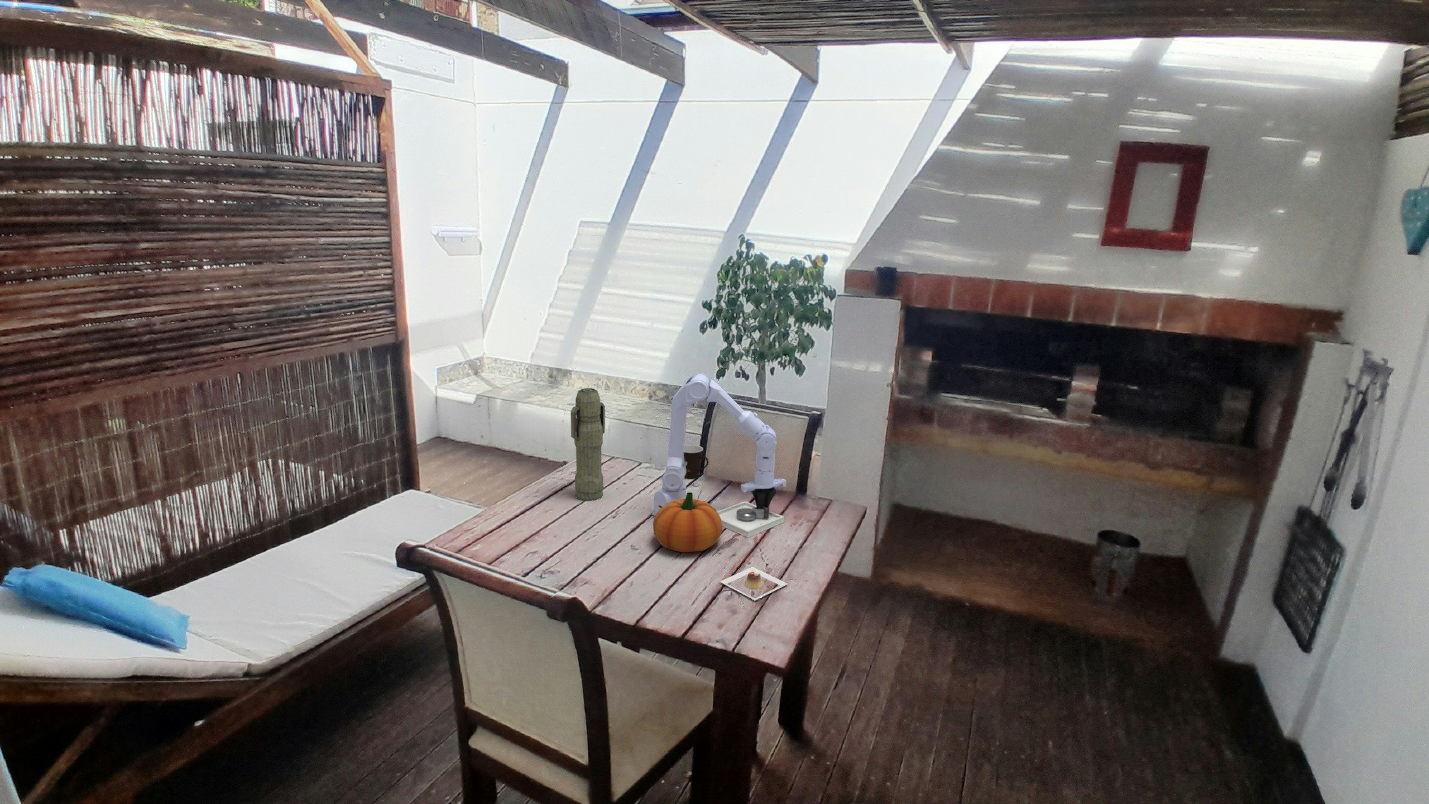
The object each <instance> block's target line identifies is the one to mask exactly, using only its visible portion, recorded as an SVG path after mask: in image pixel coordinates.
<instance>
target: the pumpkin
mask: <svg viewBox="0 0 1429 804" xmlns="http://www.w3.org/2000/svg"><path fill="white" fill-rule="evenodd" d="M717 511H718V510H716V509H715V507H714V506H712V505H711V504H710V503H708V502H706V501H704V500H700V499H696V498H694V497H693V492H686V499H677V500H675V501H672V502H670V503H668V504H667V505H665V506H664V507H662V508H661V509H660V510H659V511H658V512H657V513H656V514H655V516H654V517H653V521H652V531H653V534H654V537H655V539H656V540H657V541H658V542H659V544H660V545H661V547H663V548H665V549H669V550H673V551H676V552H680V553H690V552H691V553H692V552H700V551H701V552H702V551H705V550H707V549H709V548H711V547H713V546H714V545H715V544H716V543H717V541H718V540H719V539H721V536H722V533H723V528H724V527H723V526H722V522H721V518H720V516H719V514H718V513H717Z"/></svg>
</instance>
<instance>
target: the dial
mask: <svg viewBox="0 0 1429 804" xmlns="http://www.w3.org/2000/svg"><path fill="white" fill-rule="evenodd" d="M769 511H770V506H769V507H768V506H764V507H763V508H757V507H752V509H749V508H742V509H739V510H737V513H736V517H737V518H738V519H740V520H745V521H750V520H754V519H756V518H765V519H768V518H769Z"/></svg>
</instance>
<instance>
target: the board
mask: <svg viewBox="0 0 1429 804" xmlns="http://www.w3.org/2000/svg"><path fill="white" fill-rule="evenodd" d="M752 507H756V504H753V503H751V502H748V501H742V502H739V503H736V504H734V505H731V506H728V507H726V508H723V509H720V510H716V511H717V513H718V514H719V516H720V518H721V522H722V528H725V529H728V530H730V531H732V532H735V533H737V534H739V535H741V536H743V537H746V538H750V537H752V536H754V535H758V534H759V533H761V532H764V531H767V530H770V529H772V528H774V527H776V526H779V525H781V524H783V523H785V516H784V515H782V514H781V515H780V514H779V513H775V512H773V511H771V510H769V518H768V519H765V518H756V519H754V520H750V521H745V520H740V519H738V518H737V517H736V513H737V510H739V509H742V508H749V509H752Z"/></svg>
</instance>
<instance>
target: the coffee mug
mask: <svg viewBox="0 0 1429 804" xmlns="http://www.w3.org/2000/svg"><path fill="white" fill-rule="evenodd" d="M703 452H704V447H702V446H701V445H696V444H695V445H694V444H685V445H684V465H685V467H686V475H685V477H684V480H685V479H686V480H695V479H698V478H699V477H700V472H701V471H702V470H704V469H706V468H707V466H708V465H709V458H708V457H707V456H705V455H703ZM703 458H704V459H705V461H706V464H705V466H703V467H701V466H702V459H703Z"/></svg>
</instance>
